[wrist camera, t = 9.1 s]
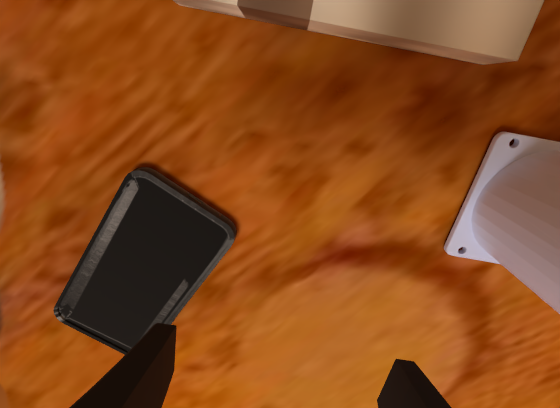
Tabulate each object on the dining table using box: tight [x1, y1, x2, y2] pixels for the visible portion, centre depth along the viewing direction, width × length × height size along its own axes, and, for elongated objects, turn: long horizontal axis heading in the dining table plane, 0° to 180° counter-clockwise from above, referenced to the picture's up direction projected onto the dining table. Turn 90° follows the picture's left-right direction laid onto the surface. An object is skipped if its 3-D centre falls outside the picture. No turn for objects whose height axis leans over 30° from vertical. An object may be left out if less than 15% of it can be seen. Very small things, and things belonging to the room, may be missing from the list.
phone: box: [54, 167, 236, 355], centre depth 21 cm, size 8×1×15 cm
